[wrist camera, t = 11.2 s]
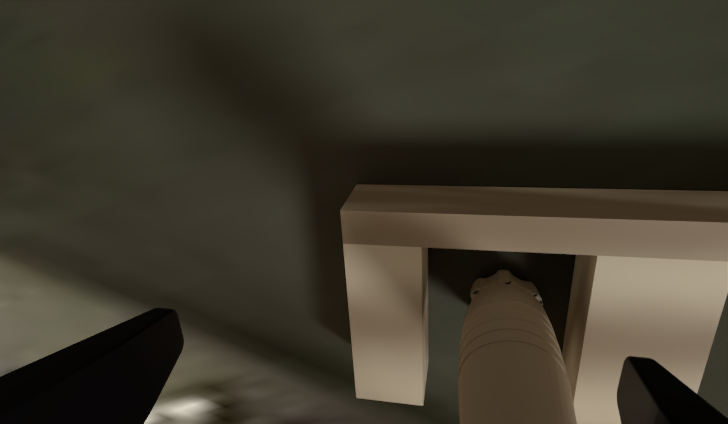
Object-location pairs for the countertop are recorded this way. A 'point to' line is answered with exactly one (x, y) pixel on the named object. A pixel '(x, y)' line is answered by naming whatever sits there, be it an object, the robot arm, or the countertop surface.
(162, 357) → the robot arm
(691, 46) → the countertop surface
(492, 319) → the handle
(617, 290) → the notched rail
